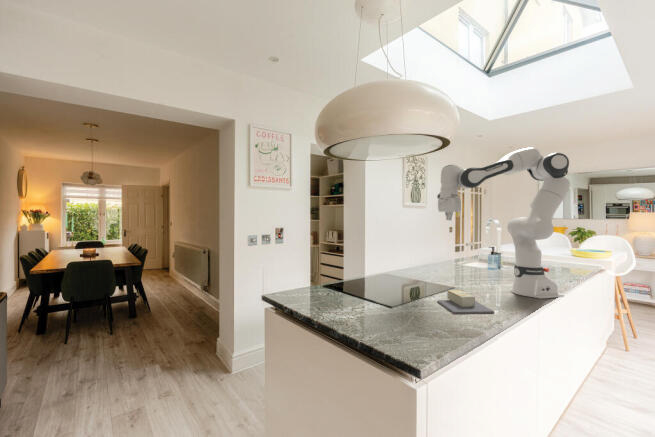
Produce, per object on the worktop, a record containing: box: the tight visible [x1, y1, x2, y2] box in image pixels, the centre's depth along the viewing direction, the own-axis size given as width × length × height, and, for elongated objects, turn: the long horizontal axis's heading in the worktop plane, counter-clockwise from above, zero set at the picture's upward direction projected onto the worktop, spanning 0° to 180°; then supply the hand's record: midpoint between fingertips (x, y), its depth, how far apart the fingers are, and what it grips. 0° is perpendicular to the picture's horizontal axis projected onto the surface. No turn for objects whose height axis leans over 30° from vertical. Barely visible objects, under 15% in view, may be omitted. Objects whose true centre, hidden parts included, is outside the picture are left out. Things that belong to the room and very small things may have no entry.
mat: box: [437, 299, 495, 315], centre depth 132 cm, size 17×16×1 cm
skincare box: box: [446, 289, 476, 307], centre depth 136 cm, size 6×4×12 cm
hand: (448, 220), depth 163 cm, fingers closed
